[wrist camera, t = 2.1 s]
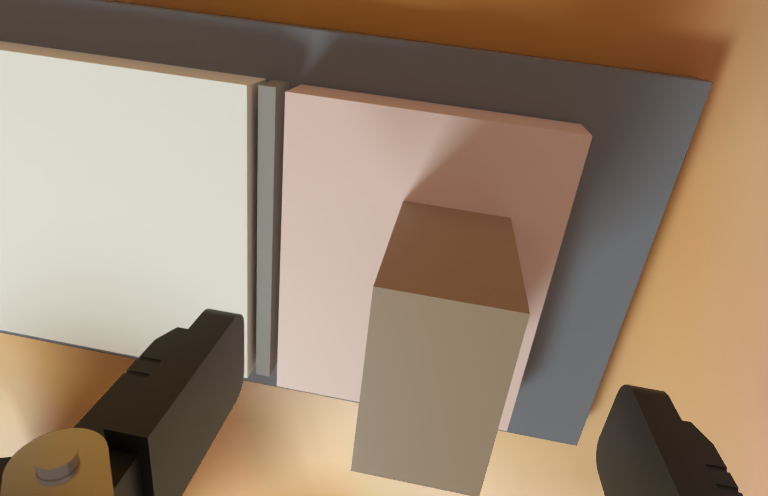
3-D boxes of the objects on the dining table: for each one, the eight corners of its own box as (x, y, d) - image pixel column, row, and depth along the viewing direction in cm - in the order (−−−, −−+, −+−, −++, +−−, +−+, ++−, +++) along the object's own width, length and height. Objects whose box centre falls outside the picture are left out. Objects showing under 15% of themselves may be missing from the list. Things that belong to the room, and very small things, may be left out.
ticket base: (697, 77, 14) (739, 90, 12) (571, 425, 20) (584, 478, 18) (-80, -25, 16) (-167, -30, 14) (3, 316, 22) (-50, 350, 20)
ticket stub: (580, 124, 14) (657, 202, 8) (504, 400, 19) (520, 579, 13) (301, 84, 15) (194, 131, 9) (290, 359, 19) (212, 511, 13)
